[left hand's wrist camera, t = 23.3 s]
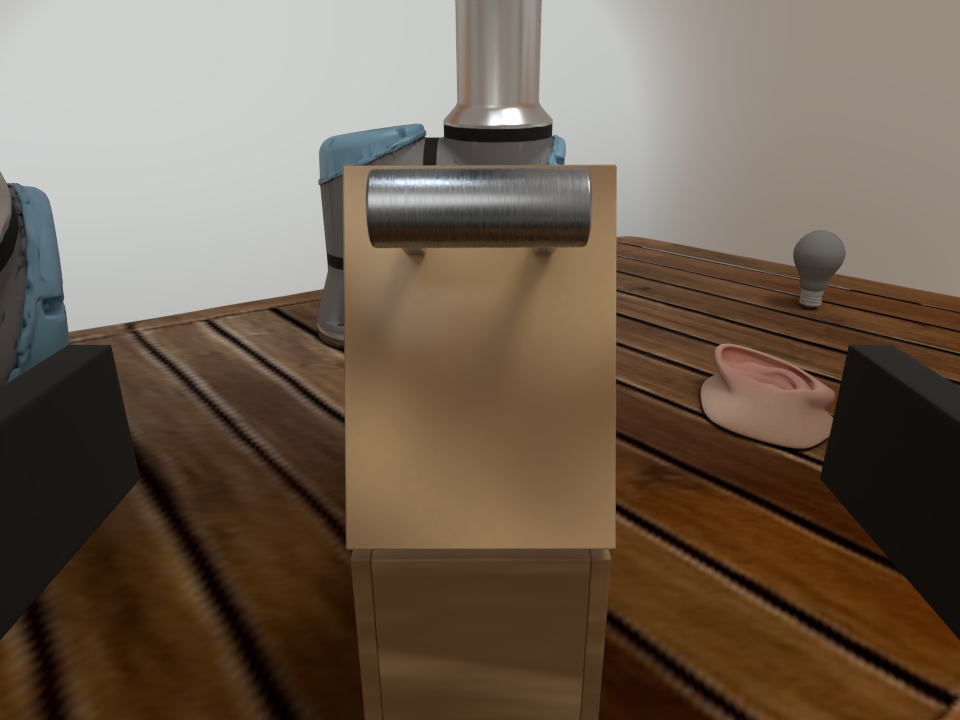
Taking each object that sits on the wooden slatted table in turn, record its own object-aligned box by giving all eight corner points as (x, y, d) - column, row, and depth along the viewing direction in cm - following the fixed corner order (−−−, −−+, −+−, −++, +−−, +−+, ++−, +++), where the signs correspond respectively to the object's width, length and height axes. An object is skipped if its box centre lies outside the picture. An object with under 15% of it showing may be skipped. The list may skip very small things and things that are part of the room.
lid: (348, 173, 25) (277, 83, 16) (610, 172, 25) (680, 81, 16) (351, 540, 25) (283, 646, 17) (609, 540, 25) (677, 645, 17)
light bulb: (792, 312, 87) (806, 235, 84) (779, 299, 93) (791, 226, 89) (841, 314, 87) (857, 235, 83) (825, 300, 92) (839, 226, 89)
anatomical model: (850, 411, 51) (693, 387, 56) (840, 457, 53) (687, 431, 57) (840, 353, 63) (710, 337, 67) (832, 393, 64) (705, 374, 68)
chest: (400, 569, 41) (391, 409, 37) (562, 568, 41) (569, 408, 37) (368, 764, 29) (349, 559, 25) (595, 764, 29) (612, 559, 25)
